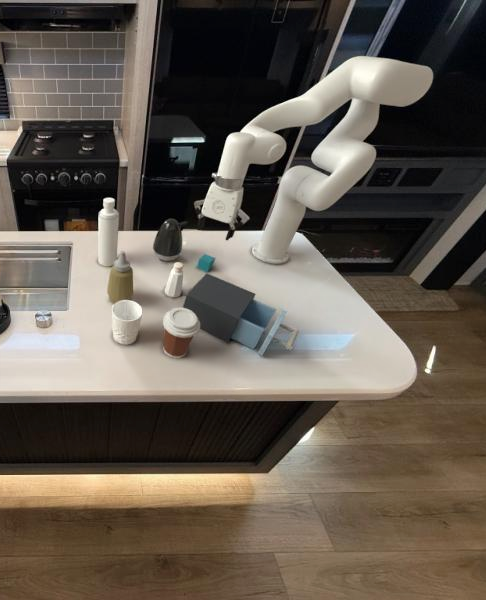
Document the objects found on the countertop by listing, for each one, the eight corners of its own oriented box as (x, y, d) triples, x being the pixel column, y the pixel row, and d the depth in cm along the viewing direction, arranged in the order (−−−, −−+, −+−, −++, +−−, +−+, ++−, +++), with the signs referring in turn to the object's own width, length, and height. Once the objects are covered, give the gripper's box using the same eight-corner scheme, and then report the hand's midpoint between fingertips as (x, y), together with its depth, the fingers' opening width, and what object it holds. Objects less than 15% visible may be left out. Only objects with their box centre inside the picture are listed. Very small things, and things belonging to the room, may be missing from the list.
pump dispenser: (182, 265, 113) (191, 227, 102) (153, 264, 113) (159, 227, 102) (177, 249, 120) (184, 212, 110) (150, 249, 120) (155, 212, 110)
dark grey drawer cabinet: (244, 318, 93) (255, 293, 86) (227, 343, 86) (238, 319, 79) (199, 297, 100) (206, 273, 93) (180, 318, 93) (186, 294, 86)
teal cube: (202, 262, 114) (204, 253, 111) (212, 267, 112) (215, 257, 109) (196, 267, 111) (199, 258, 109) (207, 272, 109) (210, 263, 107)
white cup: (123, 321, 92) (125, 295, 85) (144, 335, 88) (148, 310, 81) (105, 335, 88) (105, 310, 81) (126, 351, 84) (128, 326, 77)
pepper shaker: (174, 300, 99) (180, 272, 91) (160, 291, 102) (165, 264, 94) (184, 292, 101) (191, 265, 94) (171, 284, 104) (177, 257, 97)
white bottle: (105, 253, 118) (106, 188, 101) (120, 259, 115) (124, 194, 98) (94, 262, 114) (94, 196, 97) (110, 268, 111) (112, 201, 94)
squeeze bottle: (130, 310, 95) (135, 262, 83) (104, 306, 97) (105, 258, 84) (133, 293, 101) (138, 245, 89) (109, 290, 102) (110, 242, 90)
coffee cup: (181, 332, 89) (189, 301, 81) (198, 356, 82) (209, 325, 74) (152, 340, 87) (157, 308, 79) (167, 365, 80) (175, 334, 72)
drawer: (293, 339, 86) (306, 319, 80) (280, 366, 79) (293, 346, 74) (229, 309, 94) (236, 290, 89) (212, 331, 88) (220, 311, 83)
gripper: (195, 177, 92) (184, 229, 104) (254, 193, 84) (235, 247, 96) (207, 170, 97) (194, 220, 108) (264, 185, 89) (244, 237, 100)
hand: (213, 233), depth 102 cm, fingers open, 9 cm apart
